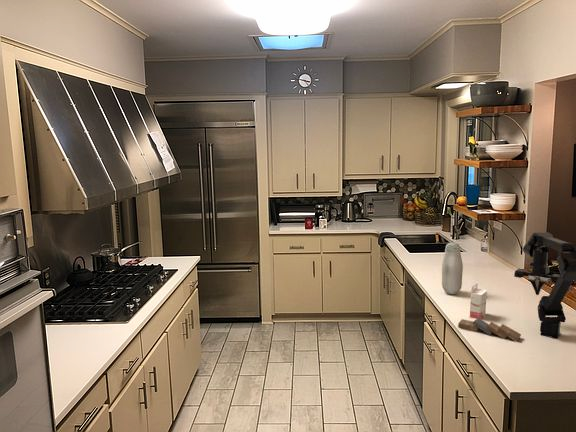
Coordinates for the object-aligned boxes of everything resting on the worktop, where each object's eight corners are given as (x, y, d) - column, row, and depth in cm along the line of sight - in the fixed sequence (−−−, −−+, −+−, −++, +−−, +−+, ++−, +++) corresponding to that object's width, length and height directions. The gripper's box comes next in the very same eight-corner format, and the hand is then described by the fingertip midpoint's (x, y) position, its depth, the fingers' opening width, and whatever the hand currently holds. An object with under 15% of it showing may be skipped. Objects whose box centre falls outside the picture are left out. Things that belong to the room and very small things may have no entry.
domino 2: (480, 326, 202) (462, 322, 207) (476, 330, 198) (458, 325, 203) (480, 330, 202) (462, 325, 207) (476, 333, 198) (457, 329, 204)
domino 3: (509, 332, 194) (491, 321, 198) (506, 336, 190) (487, 325, 194) (508, 335, 194) (490, 324, 199) (505, 339, 191) (486, 328, 195)
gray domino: (495, 329, 197) (479, 317, 202) (491, 332, 194) (474, 320, 198) (494, 332, 198) (477, 320, 202) (489, 335, 194) (472, 323, 199)
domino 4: (521, 334, 191) (502, 323, 195) (518, 338, 187) (499, 327, 192) (519, 337, 192) (500, 326, 196) (516, 341, 188) (497, 330, 192)
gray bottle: (444, 289, 255) (446, 239, 250) (463, 292, 249) (465, 241, 245) (438, 294, 247) (440, 243, 242) (458, 297, 241) (460, 245, 237)
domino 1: (480, 323, 202) (462, 319, 206) (477, 327, 198) (458, 322, 202) (480, 326, 202) (461, 322, 207) (477, 330, 198) (458, 326, 203)
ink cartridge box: (480, 319, 212) (481, 288, 209) (469, 317, 215) (470, 286, 213) (486, 313, 218) (487, 283, 216) (475, 311, 221) (476, 282, 219)
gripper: (568, 260, 202) (565, 294, 204) (521, 253, 214) (519, 286, 217) (562, 265, 194) (559, 301, 196) (514, 258, 206) (512, 292, 208)
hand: (537, 294), depth 205 cm, fingers closed
